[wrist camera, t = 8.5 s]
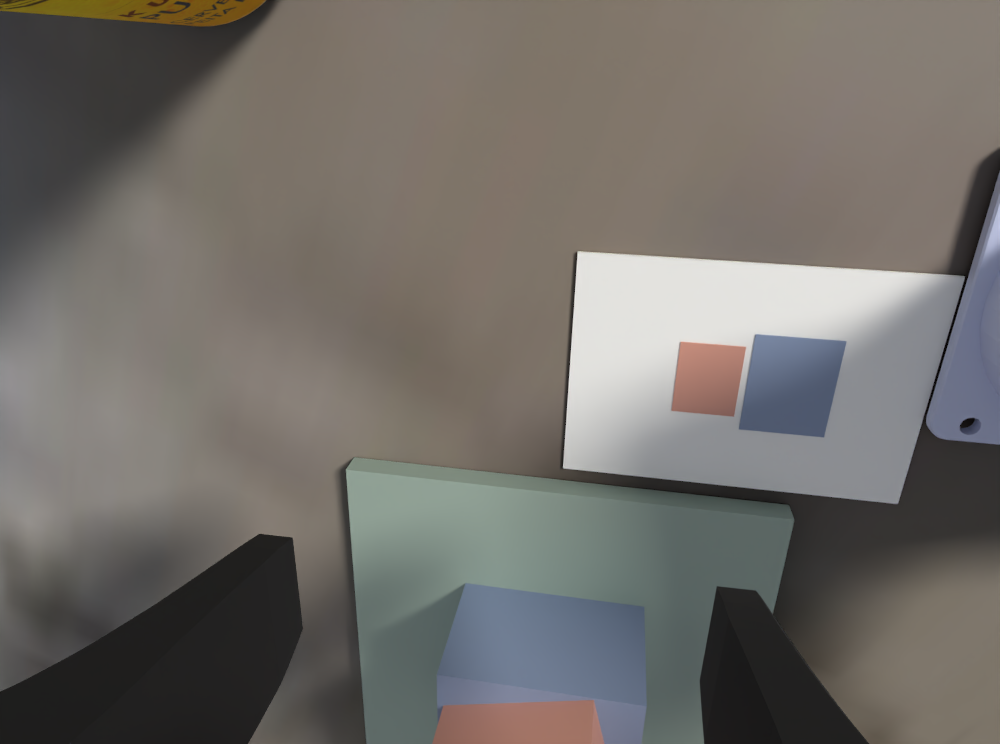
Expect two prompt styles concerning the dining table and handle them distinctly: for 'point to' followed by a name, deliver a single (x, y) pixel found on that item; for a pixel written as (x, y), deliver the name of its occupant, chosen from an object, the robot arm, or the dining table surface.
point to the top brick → (520, 723)
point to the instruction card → (753, 372)
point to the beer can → (142, 10)
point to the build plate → (543, 574)
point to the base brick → (548, 655)
